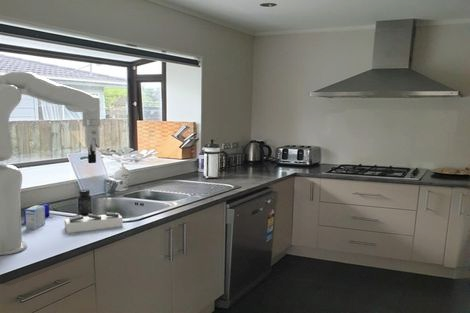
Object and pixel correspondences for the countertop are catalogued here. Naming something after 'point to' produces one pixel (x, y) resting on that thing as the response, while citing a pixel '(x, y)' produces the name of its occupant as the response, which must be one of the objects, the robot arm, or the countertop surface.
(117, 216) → the rocker outer
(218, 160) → the coffee press
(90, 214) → the rocker middle
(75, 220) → the rocker inner
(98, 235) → the countertop surface
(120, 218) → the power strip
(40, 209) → the medicine box
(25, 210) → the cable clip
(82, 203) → the supplement bottle
